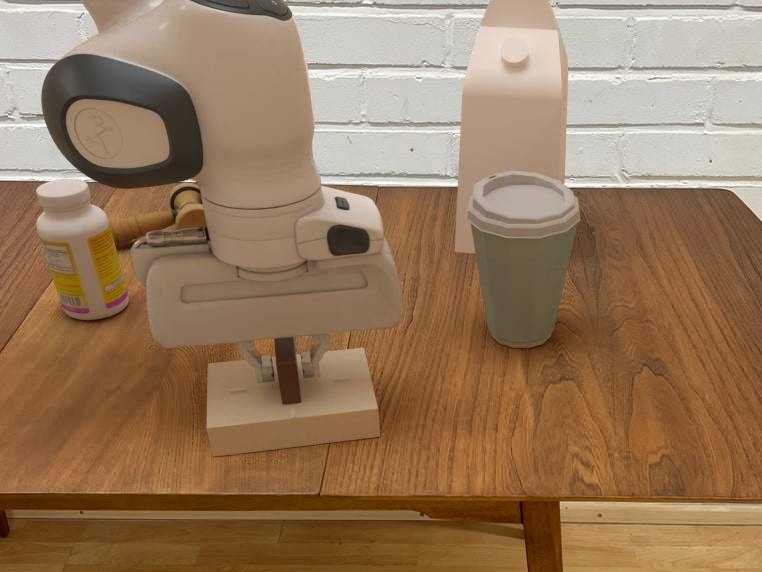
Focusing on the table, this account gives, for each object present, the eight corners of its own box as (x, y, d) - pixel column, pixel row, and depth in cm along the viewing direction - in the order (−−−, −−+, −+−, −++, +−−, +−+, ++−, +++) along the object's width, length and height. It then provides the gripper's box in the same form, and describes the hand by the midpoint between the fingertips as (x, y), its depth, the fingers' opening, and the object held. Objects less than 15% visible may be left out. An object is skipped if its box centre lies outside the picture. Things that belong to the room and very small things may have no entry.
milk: (563, 219, 112) (581, -12, 95) (556, 259, 103) (574, 12, 87) (469, 213, 113) (470, -17, 97) (454, 252, 104) (453, 6, 88)
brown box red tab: (301, 402, 75) (295, 359, 72) (282, 405, 75) (275, 361, 72) (297, 365, 79) (291, 323, 77) (279, 367, 79) (272, 325, 76)
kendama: (114, 275, 102) (266, 229, 106) (91, 220, 98) (248, 175, 102) (111, 258, 108) (254, 215, 112) (89, 207, 104) (237, 165, 109)
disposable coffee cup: (592, 335, 90) (608, 191, 80) (517, 374, 84) (524, 223, 75) (518, 298, 96) (525, 159, 86) (443, 332, 90) (441, 187, 81)
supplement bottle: (128, 288, 97) (97, 170, 88) (133, 316, 92) (101, 195, 84) (62, 298, 95) (24, 179, 86) (64, 327, 90) (24, 204, 82)
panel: (212, 457, 74) (205, 427, 72) (213, 390, 82) (207, 361, 80) (380, 437, 76) (378, 407, 74) (366, 374, 84) (363, 345, 82)
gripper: (119, 251, 64) (161, 410, 72) (403, 230, 67) (410, 384, 76) (128, 216, 68) (166, 369, 77) (392, 198, 72) (399, 346, 81)
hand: (289, 376), depth 77 cm, fingers closed
